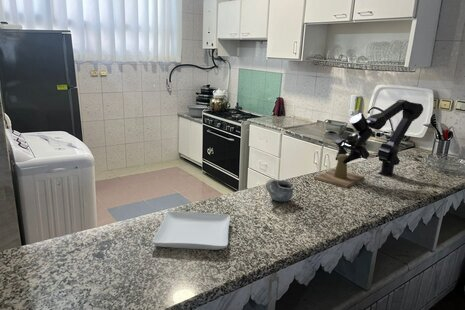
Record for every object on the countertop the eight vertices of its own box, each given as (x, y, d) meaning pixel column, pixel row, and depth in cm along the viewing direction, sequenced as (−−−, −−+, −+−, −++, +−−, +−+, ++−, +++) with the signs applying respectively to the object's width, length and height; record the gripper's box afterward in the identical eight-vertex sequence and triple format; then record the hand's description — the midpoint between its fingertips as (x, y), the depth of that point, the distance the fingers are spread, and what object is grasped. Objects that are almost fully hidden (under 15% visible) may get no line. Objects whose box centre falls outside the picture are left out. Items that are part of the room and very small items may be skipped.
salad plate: (167, 219, 115) (167, 209, 114) (230, 222, 115) (230, 213, 114) (150, 252, 95) (150, 241, 94) (227, 257, 94) (228, 246, 94)
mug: (297, 201, 135) (299, 177, 133) (278, 209, 126) (281, 184, 124) (277, 194, 142) (279, 171, 139) (258, 201, 133) (260, 177, 130)
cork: (349, 177, 164) (352, 155, 161) (342, 179, 160) (345, 156, 158) (338, 173, 169) (341, 152, 166) (331, 175, 165) (334, 153, 162)
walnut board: (333, 170, 177) (333, 168, 177) (364, 178, 167) (364, 176, 167) (314, 179, 163) (314, 176, 162) (346, 188, 152) (347, 185, 152)
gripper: (340, 122, 168) (319, 145, 167) (368, 130, 151) (344, 155, 150) (350, 137, 173) (330, 160, 172) (378, 146, 156) (356, 171, 155)
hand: (339, 161), depth 162 cm, fingers open, 5 cm apart
